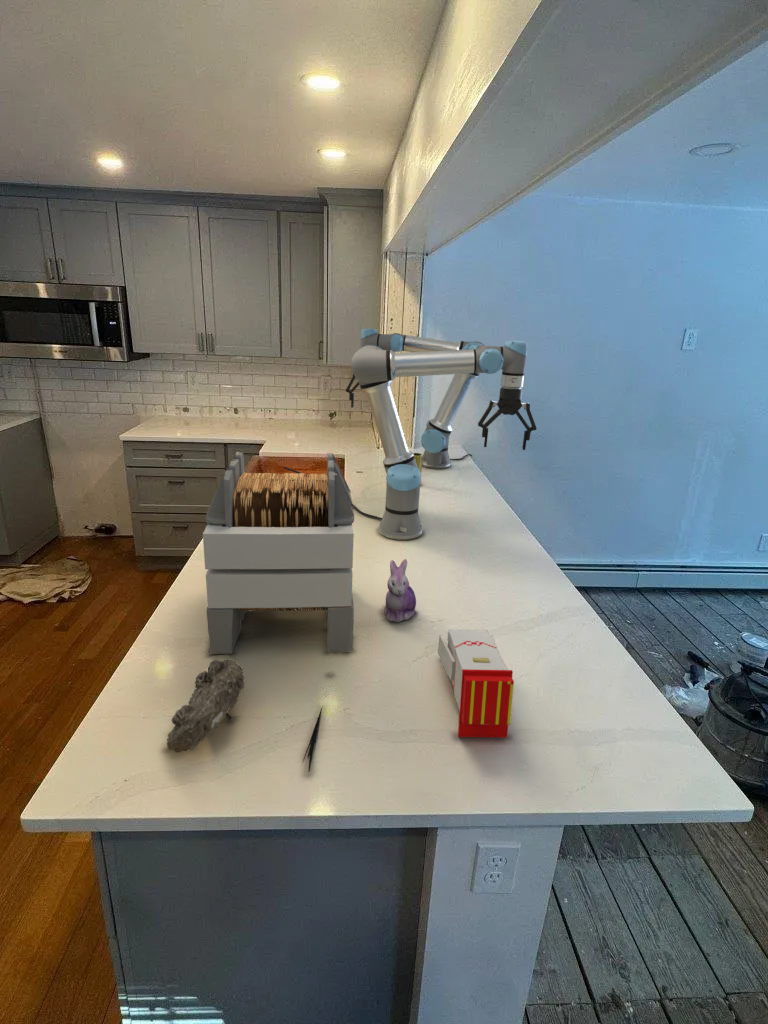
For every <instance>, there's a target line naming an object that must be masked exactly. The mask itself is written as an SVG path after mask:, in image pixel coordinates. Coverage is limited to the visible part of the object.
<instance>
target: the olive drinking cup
mask: <svg viewBox="0 0 768 1024" xmlns="http://www.w3.org/2000/svg"><path fill="white" fill-rule="evenodd" d="M412 453H413V454H414V457H415V461H416V464H417V466H418V467H419V470H420V473H421V474H422V468H423V466H422V456H423V453H421V452H412ZM421 486H422V481H421V482H420V487H421Z"/></svg>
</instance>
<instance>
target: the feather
mask: <svg viewBox="0 0 768 1024" xmlns="http://www.w3.org/2000/svg"><path fill="white" fill-rule="evenodd" d="M329 675H330V676H331V675H332V674H331V673H330V674H329ZM322 710H323V707H321V708H320V710H319V713H318V716H317V719H316V723H315V725H314V728H313V731H312V733H311V737H310V739H309V742H308V745H307V748H306V751H305V754H304V757H303V760H302V763H301V767H302V765H303V763H304V761H305V758H308V759H309V760H308V762H307V763H308V764H307V766H308V771H310V770H311V766H312V765H311V764H312V760H313V757H315V756H314V755H315V751H316V749H315V746H317V739H318V733H319V729H320V722H321V717H322V712H323V711H322ZM313 754H314V755H313ZM306 755H307V757H306Z"/></svg>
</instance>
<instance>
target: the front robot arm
mask: <svg viewBox="0 0 768 1024" xmlns="http://www.w3.org/2000/svg"><path fill="white" fill-rule="evenodd" d="M527 357H528V343H527V342H526V341H521V340H506V341H505V343H504V345H503V346H494V345H485V346H481V345H472V346H470V348H469V349H467V350H447V351H427V352H407V351H406V352H393V351H392V350H383V349H382V348H380V347H378V346H376V345H366V346H364V347H362V348H361V347H360V348H359V349H358V350H357V351H355V353H354V354H353V356H352V358H351V362H350V369H351V373H352V375H353V374H354V376H355V377H356V378H355V379H357V382H359V384H360V385H359V387H360V390H361V391H363V392H364V393H366V396H367V399H368V402H369V407H370V409H371V413H372V416H373V419H374V423H375V426H376V429H377V433H378V436H379V439H380V442H381V446H382V449H383V452H384V456H385V457H384V459H383V460H382V464H383V468H384V471H385V474H386V475H385V481H386V482H385V483H386V485H385V504H384V505H385V507H384V508H385V509H384V513H383V515H382V517H380V516H377V515H372V514H369V513H366V512H363V510H362V511H361V510H360V509H359V508H358V507H357V506H356V505H355V504H354V503H352V505H353V509H355V510H356V511H357V512H358V513H359V514H361V515H363V516H365V517H368V518H373V519H377V520H380V521H381V522H379V526H378V533H379V534H380V535H381V536H382V537H385V538H387V539H389V540H395V541H410V540H415V539H418V538H420V537H421V536H422V535H423V525H422V524H421V518H420V515H419V507H420V506H419V505H420V491H421V486H420V482H421V483H422V472H421V473H420V470H419V467H418V466H417V464H416V461H415V457H414V454H413V453H414V452H412V451H411V450H409V448H408V445H407V444H408V443H407V441H406V438H405V434H404V431H403V427H402V424H401V420H400V417H399V414H398V410H397V406H396V403H395V399H394V395H393V392H392V388H391V385H392V383H393V381H394V380H395V379H396V378H407V377H425V376H426V377H427V376H428V377H429V376H447V375H455V374H467V373H480V374H487V375H493V374H496V373H497V372H499V371H500V370H501V379H500V386H501V387H500V388H499V396H498V401H494V400H493V399H490V400H489V402H488V406H487V408H486V409H485V411H484V413H483V414H482V416H481V418H480V419H479V421H478V422H477V426H478V427H480V428H482V431H481V437H482V438H484V444H483V448H487V447H488V438H489V437H488V436H489V428H488V427H489V426H490V425H491V424H492V423H493V422H494V421H496V419H497V418H498V417H500V416H501V415H504V416H507V415H508V416H514V415H516V417H517V418H518V419H519V421H520V422H521V424H522V425H523V426H524V428H525V429H526V430H524V433H523V440H522V450H523V451H526V447H527V442H528V441H530V440H531V434H532V432H533V431H537V429H538V428H537V426H536V423H535V420H534V418H533V415H532V412H531V405H530V402H528V401H527V402H522V396H523V389H522V388H523V387H524V379H525V369H526V363H527ZM496 406H497V407H498V409H497V410H496V412H495V413H493V415H492V416H491V417H489V419H488V420H486V419H487V418H488V416H489V414H490V413H491V411H492V409H493V408H495V407H496ZM522 407H523V409H524V410H525V412H526V414H527V418H528V420H529V422H530V423H529V424H530V425H529V424H528V423H527V421H526V419H525V418H524V416H523V415H522V414H521V413H520V410H521V408H522ZM282 468H283V469H284V470H287V471H291V472H292V473H302V472H301V471H298V470H295V469H293V468H290V467H287V466H283V467H282ZM306 477H307V474H306ZM308 477H309V474H308Z"/></svg>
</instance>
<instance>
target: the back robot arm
mask: <svg viewBox="0 0 768 1024" xmlns="http://www.w3.org/2000/svg"><path fill="white" fill-rule="evenodd" d="M366 345H376V346H378V347H380V348H382V349H383V350H392V351H393V352H394V353H401V352H406V353H407V352H427V351H447V350H467V349H469V348H470V346H472V345H481V346H486V344H484V343H482V342H481V341H476V340H475V341H465V340H459V341H458V342H455V341H449V340H443V339H436V338H430V337H429V338H428V337H422V336H415V335H408V334H402V333H398V332H393V333H389V334H388V333H379V332H378V329H376V328H362V329H361V332H360V348H362V347H364V346H366ZM480 374H481V373H467V374H453V377H452V380H451V381H450V384H449V386H448V388H447V390H446V393H445V394H444V397H443V399H442V401H441V403H440V405H439V407H438V409H437V412H436V414H435V416H434V417H433V418H431V419H428V420H427V421H426V428H425V430H424V432H423V433H422V435H421V437H420V443H421V446H422V449H424V451H423V453H422V468H423V467H424V468H426V469H433V470H444V469H449V468H450V467H451V461H462V460H464V458H466V457H468V456H470V457H473V455H472V454H471V453H467V454H465V455H463V456H462V457H461V458H450V454H449V443H450V436H451V434H452V432H453V428H452V424H453V423H454V420H455V417H456V416H457V414H458V412H459V410H460V408H461V406H462V403H463V401H464V400H465V397H466V395H467V393H468V391H469V389H470V388H471V384H472V383H473V381H474V379H476V378H478V377H479V376H480ZM356 379H357V378H356V377H355V376H354V374H353V373H352V377H351V380H350V381H349V383H348V385H347V387H346V388H345V392H346V393H348V394H349V396H348V399H349V401H351V402H350V406H351V407H350V408H354V406H355V404H354V403H355V393H354V392H355V390H356V389H357V388H358V387H360V384H359V381H357V383H355V385H353V384H354V381H355V380H356ZM352 386H353V387H352ZM351 387H352V388H351Z"/></svg>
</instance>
